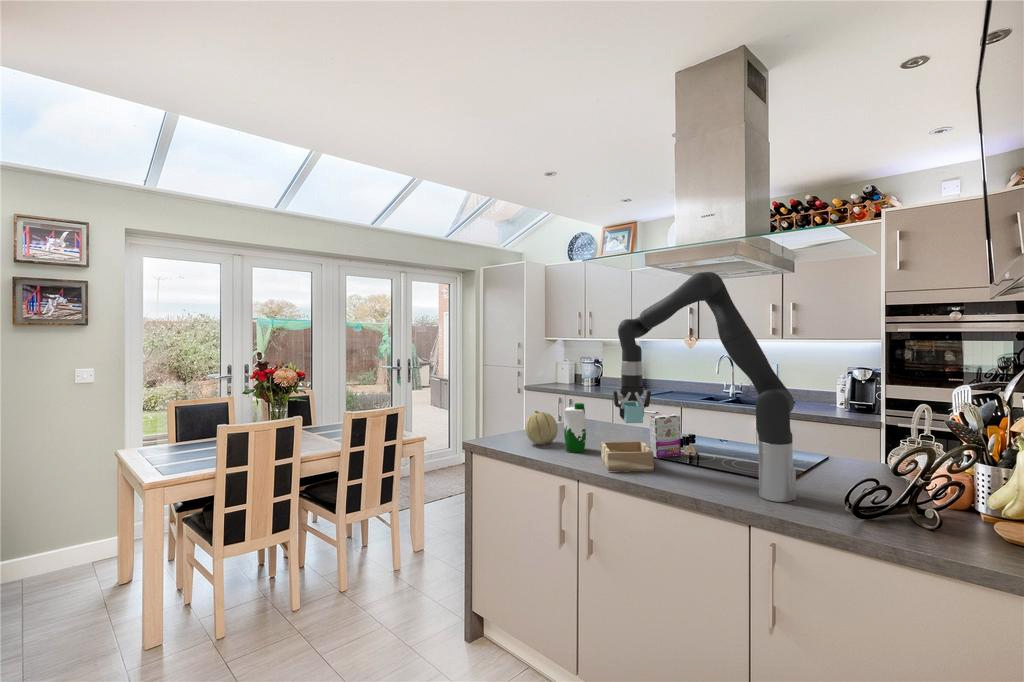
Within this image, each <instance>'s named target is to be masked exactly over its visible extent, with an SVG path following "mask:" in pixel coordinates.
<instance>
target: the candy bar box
mask: <svg viewBox="0 0 1024 682" xmlns="http://www.w3.org/2000/svg"><path fill="white" fill-rule="evenodd" d="M680 421H681V418H680V415H678V414H676V413H666V414H658V415H656V414H655V415H649V434H650V438H649V439H650V449H651V450H652V451H653V456H654V457H653V458H655V457H656V458H655V459H661V458H660V457H666V456H673V455H674V457H676V456H675V455H680V456H682V450H681V449H682V448H681V424H680V423H681V422H680ZM666 458H667V457H666Z"/></svg>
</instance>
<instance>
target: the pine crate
mask: <svg viewBox="0 0 1024 682" xmlns="http://www.w3.org/2000/svg"><path fill="white" fill-rule="evenodd" d="M600 451H601V452H600V454H601V455H600V456H601V459H602V460H601V461H602V463H603V465H604V464H605V465H604V467H605V466H606V467H605V468H607V469H606V470H608V471H646V472H655V471H654V470H655V469H654V466H655V465H654V457H653V451H652V450H651V447H649V446H648V444H646V443H645V442H644V441H643V440H634V441H633V440H631V441H626V440H625V441H601V442H600ZM608 471H607V472H608Z"/></svg>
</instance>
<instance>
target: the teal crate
mask: <svg viewBox="0 0 1024 682" xmlns="http://www.w3.org/2000/svg"><path fill="white" fill-rule="evenodd" d="M622 421H624V423H625V424H643V422H644V416H643V406H642V405H639V404H638V402H637V401H627V403H626V404H625V405H624V419H622Z"/></svg>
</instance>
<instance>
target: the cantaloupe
mask: <svg viewBox="0 0 1024 682" xmlns="http://www.w3.org/2000/svg"><path fill="white" fill-rule="evenodd" d="M558 431H559V430H558V424H557V421H556V419H555V418H554V417H553V416H552V415H551V414H550V413H547V412H540V411H538V410H536V411H534V413H533V414H531V415H530V416H529V417H528V418H527V421H526V423H525V432H526V433H525V434H526V437H527V438H528V440H529V441H530V442H532V443H533V444H536V445H538V444H546V445H548V444H550V443H552V442H553V441H554V440H555V439H556V437H557V435H558Z"/></svg>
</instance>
